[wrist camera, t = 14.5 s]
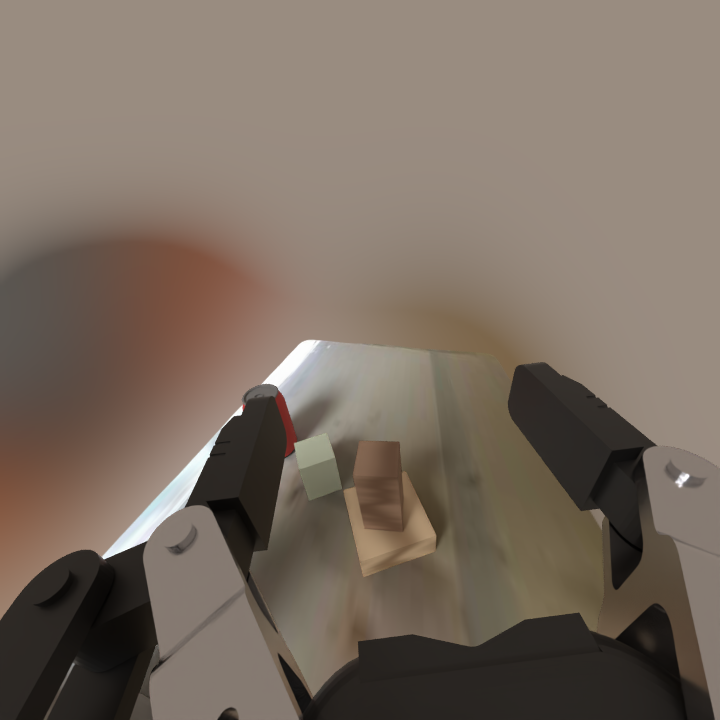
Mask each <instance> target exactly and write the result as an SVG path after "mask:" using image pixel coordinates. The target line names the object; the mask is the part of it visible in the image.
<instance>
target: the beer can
mask: <svg viewBox="0 0 720 720" xmlns="http://www.w3.org/2000/svg"><path fill="white" fill-rule="evenodd" d="M267 396H273V397H274V398H275V400H276V403H277V406H278V408H279V411H280V414H281V417H282V420H283V423H284V426H285V430H286V435H287V448H286V453H285V457H286V456H288V455H289V454H290V453H291V452H292V451H293V450H294V449H295V447H294V443H296V442H297V437H296V434H295V431H294V427H293V424H292V421H291V418H290V415H289V411H288V408H287V405H286V402H285V399H284V397H283V395H282V394H281V393H280V391H279V390H278V388H277V387H276V386H274V385H271V384H262V385H258V386H255V387H253V388H251V389H250V390H248V391H247V392H246V393H245V394H244V396H243V398H242V402H243V410H244V408H245V405H246V403H247V401H248V399H251V398H259V397H267Z"/></svg>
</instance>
